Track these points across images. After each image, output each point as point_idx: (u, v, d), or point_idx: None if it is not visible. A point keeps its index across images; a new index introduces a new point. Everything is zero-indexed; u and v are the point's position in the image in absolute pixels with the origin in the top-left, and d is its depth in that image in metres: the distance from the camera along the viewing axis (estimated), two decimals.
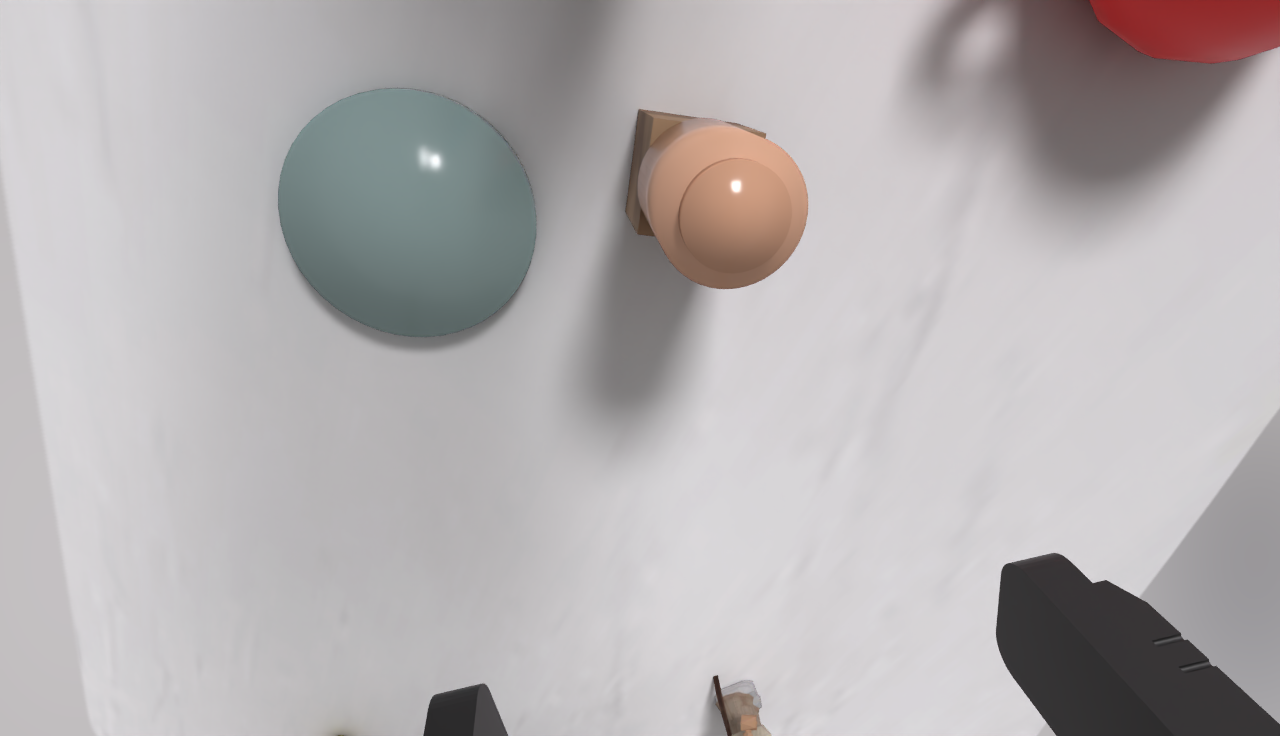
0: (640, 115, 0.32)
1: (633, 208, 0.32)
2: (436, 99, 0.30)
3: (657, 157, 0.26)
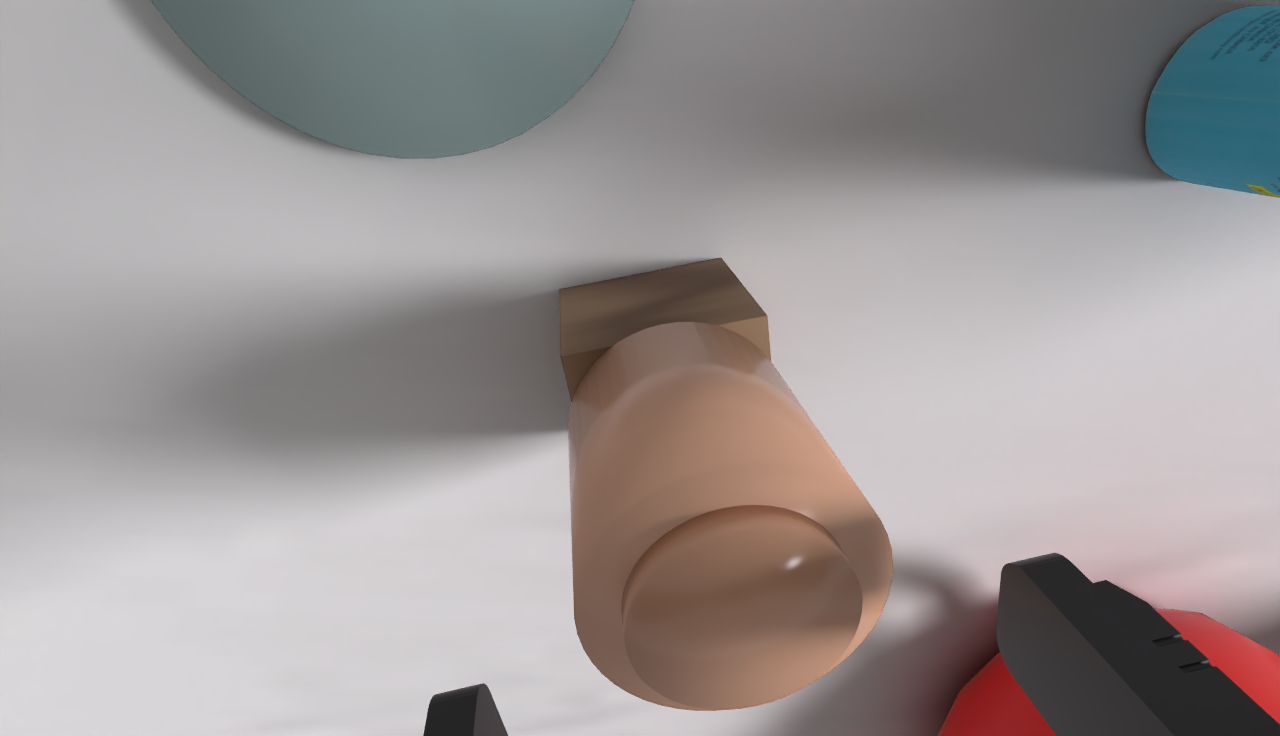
0: (719, 266, 0.20)
1: (586, 316, 0.18)
2: None
3: (742, 373, 0.13)
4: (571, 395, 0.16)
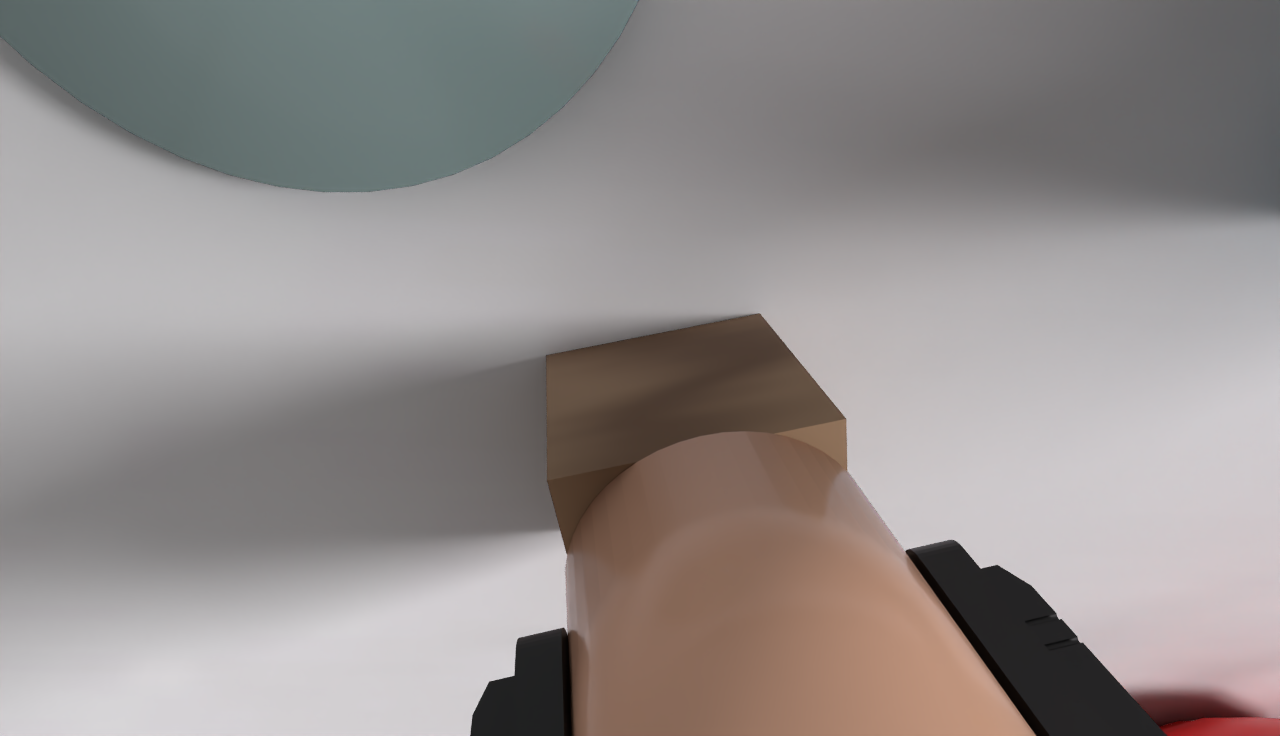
0: (759, 328, 0.15)
1: (583, 406, 0.13)
2: None
3: (841, 542, 0.09)
4: (562, 531, 0.11)
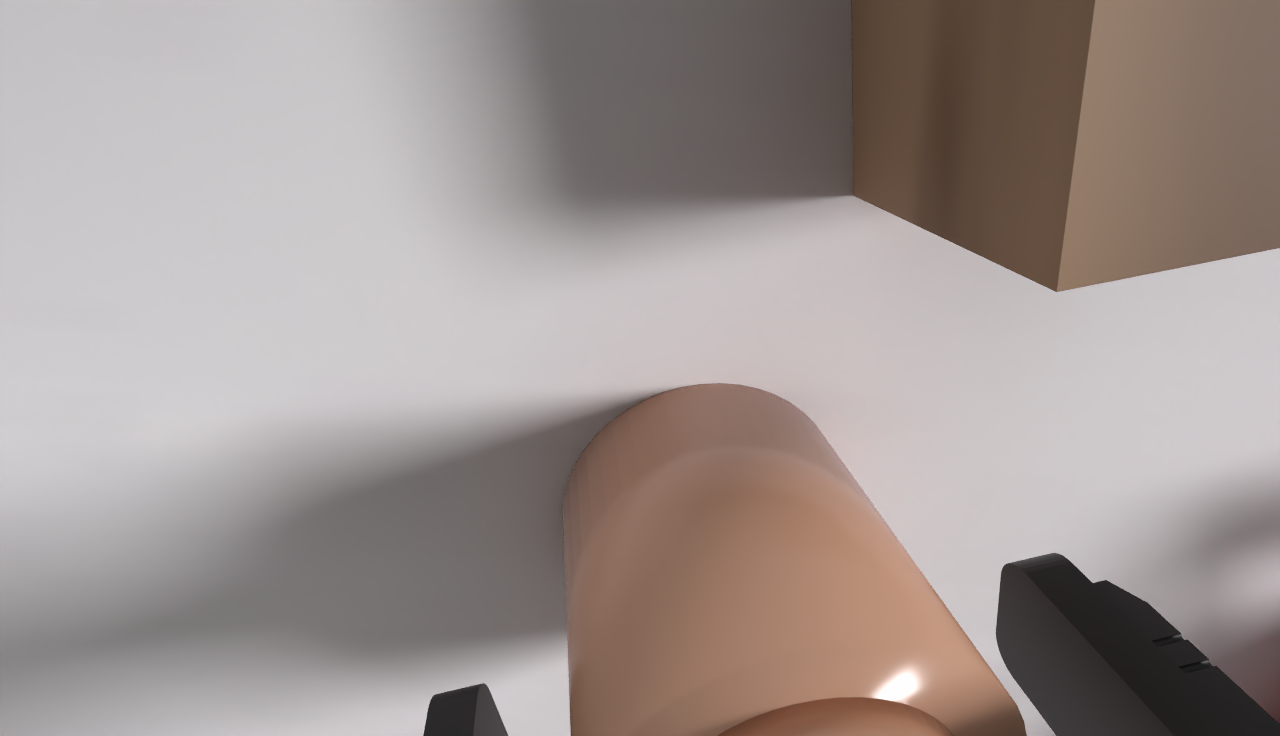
0: None
1: None
2: None
3: (797, 467, 0.10)
4: None
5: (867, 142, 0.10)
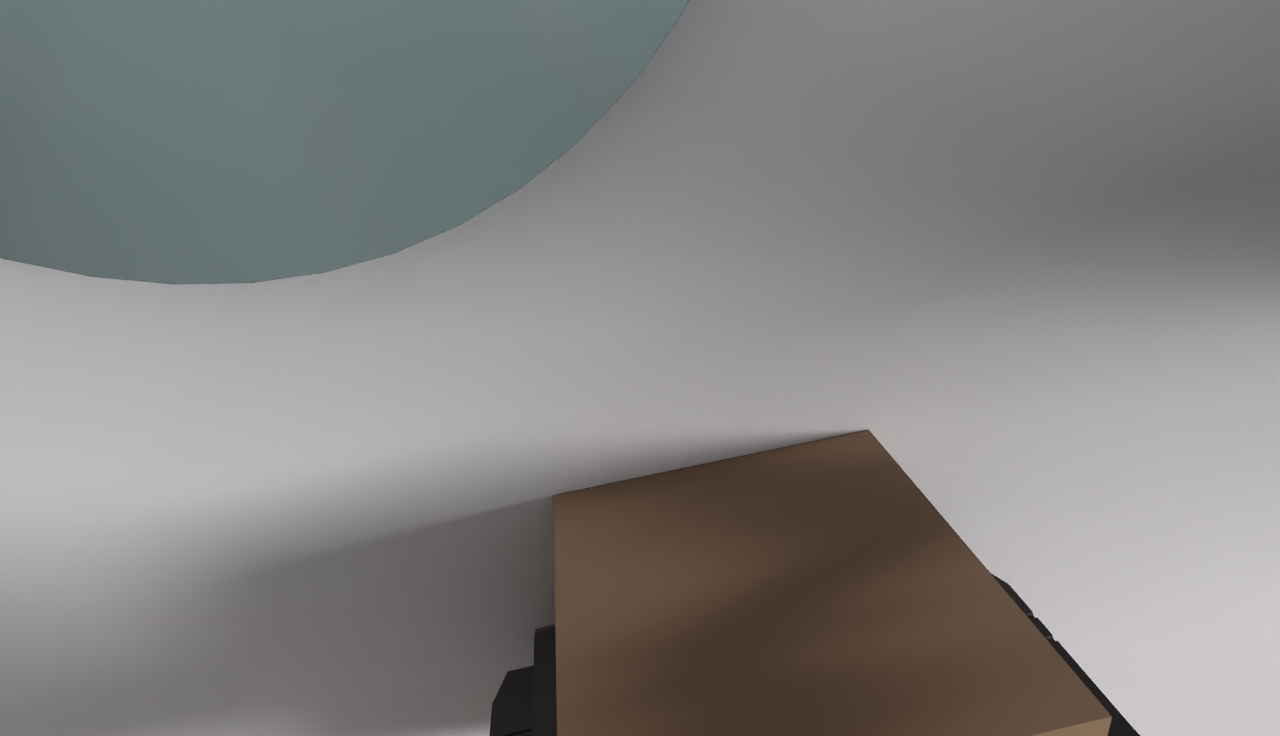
0: (879, 463, 0.10)
1: (616, 627, 0.08)
2: None
3: None
4: None
5: None
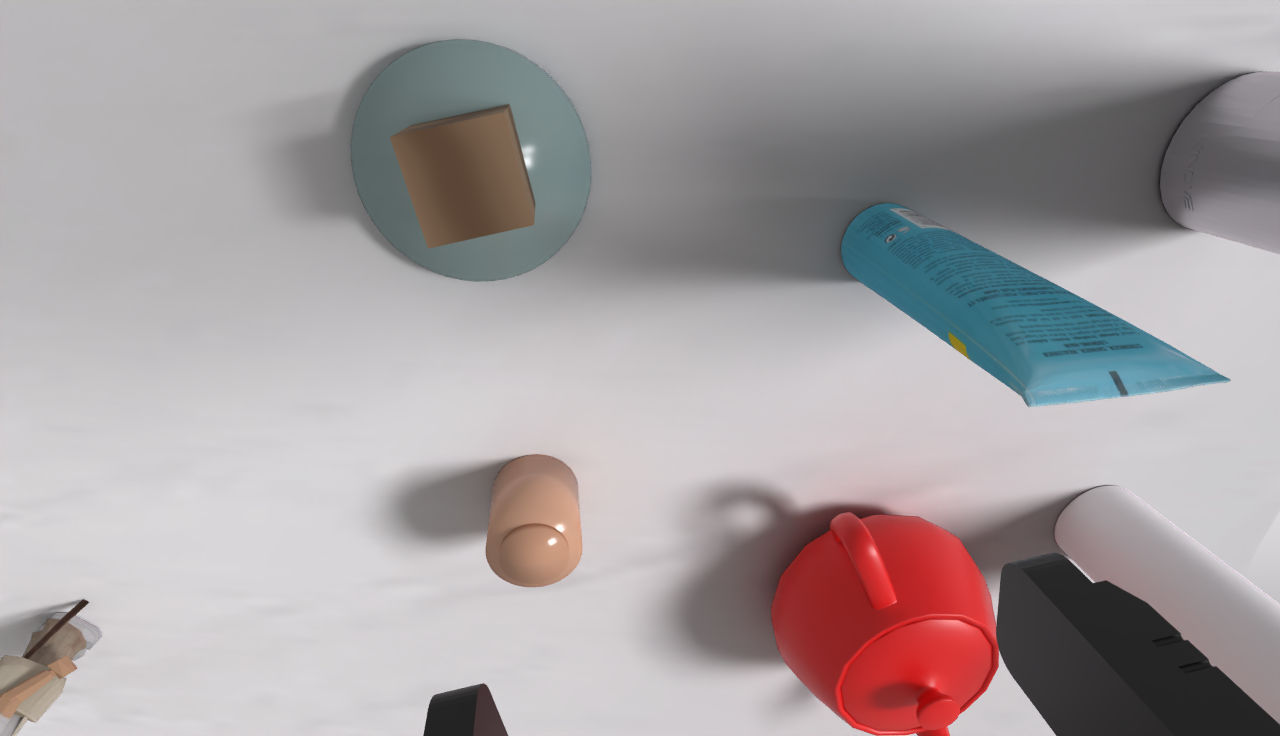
0: (504, 106, 0.32)
1: (415, 128, 0.31)
2: (588, 168, 0.35)
3: (544, 478, 0.41)
4: (399, 162, 0.29)
5: None
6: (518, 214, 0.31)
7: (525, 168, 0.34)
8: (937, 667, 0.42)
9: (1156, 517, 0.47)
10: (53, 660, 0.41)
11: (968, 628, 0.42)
